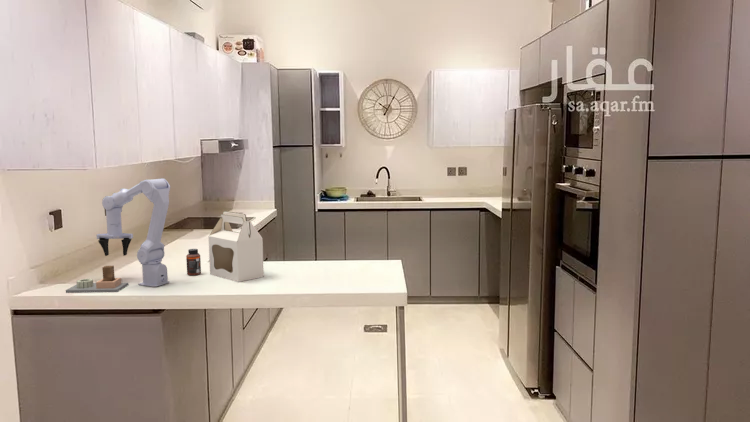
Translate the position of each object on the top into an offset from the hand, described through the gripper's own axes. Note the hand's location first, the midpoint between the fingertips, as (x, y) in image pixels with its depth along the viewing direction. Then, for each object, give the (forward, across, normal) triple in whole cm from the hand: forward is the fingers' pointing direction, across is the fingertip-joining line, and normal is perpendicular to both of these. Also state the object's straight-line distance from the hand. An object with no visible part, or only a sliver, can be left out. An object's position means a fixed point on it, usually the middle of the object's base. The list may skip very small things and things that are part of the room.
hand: (115, 255), depth 243 cm
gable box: (+11, +50, +4) cm, 51 cm away
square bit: (+10, +3, -15) cm, 18 cm away
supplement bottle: (+11, +31, +7) cm, 33 cm away
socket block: (+10, -2, -16) cm, 19 cm away
